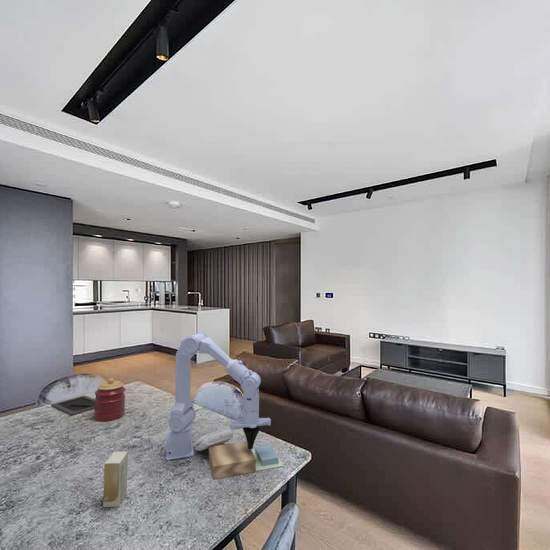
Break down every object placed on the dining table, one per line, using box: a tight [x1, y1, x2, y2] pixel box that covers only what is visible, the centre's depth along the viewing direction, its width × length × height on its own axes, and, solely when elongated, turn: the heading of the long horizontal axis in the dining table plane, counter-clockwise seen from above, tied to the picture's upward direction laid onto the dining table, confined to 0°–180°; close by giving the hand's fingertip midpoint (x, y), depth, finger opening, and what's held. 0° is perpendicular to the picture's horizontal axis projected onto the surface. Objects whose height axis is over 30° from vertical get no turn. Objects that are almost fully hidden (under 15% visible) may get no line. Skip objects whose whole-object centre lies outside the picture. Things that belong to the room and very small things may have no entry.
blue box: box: [254, 444, 279, 466], centre depth 112 cm, size 6×9×2 cm, turn 18°
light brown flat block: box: [208, 440, 257, 480], centre depth 108 cm, size 14×13×4 cm
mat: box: [251, 448, 285, 472], centre depth 112 cm, size 10×13×1 cm
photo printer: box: [194, 427, 234, 452], centre depth 117 cm, size 10×4×12 cm
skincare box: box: [102, 451, 129, 508], centre depth 90 cm, size 6×4×12 cm
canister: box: [93, 377, 126, 422], centre depth 148 cm, size 13×13×18 cm
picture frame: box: [50, 395, 95, 417], centre depth 159 cm, size 16×2×21 cm
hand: (250, 447), depth 111 cm, fingers closed
